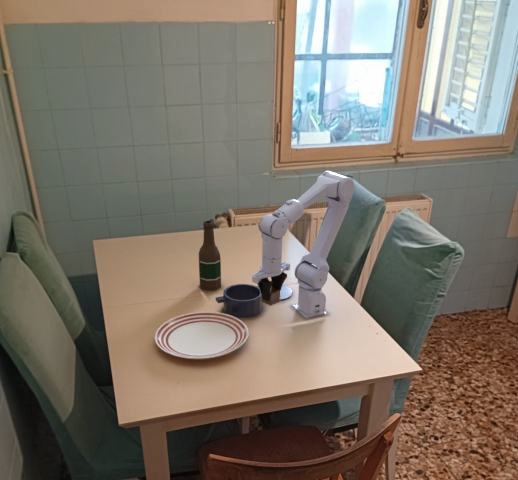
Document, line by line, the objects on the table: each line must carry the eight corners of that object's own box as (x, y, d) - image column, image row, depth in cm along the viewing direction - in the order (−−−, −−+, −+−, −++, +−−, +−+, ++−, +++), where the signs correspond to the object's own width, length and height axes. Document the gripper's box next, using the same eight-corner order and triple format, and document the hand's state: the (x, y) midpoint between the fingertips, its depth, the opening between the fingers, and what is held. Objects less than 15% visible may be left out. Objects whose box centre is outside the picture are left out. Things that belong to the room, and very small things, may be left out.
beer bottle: (218, 293, 196) (216, 226, 183) (196, 291, 197) (193, 224, 185) (224, 284, 202) (222, 219, 190) (203, 282, 204) (200, 217, 191)
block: (279, 301, 174) (280, 289, 172) (270, 305, 172) (271, 293, 170) (270, 297, 177) (270, 285, 175) (261, 301, 174) (261, 289, 172)
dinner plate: (143, 362, 158) (141, 352, 156) (169, 316, 181) (169, 307, 179) (240, 371, 155) (240, 361, 153) (254, 323, 178) (254, 314, 176)
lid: (299, 299, 193) (299, 286, 191) (262, 306, 188) (263, 293, 186) (281, 283, 204) (281, 271, 201) (246, 289, 199) (246, 277, 196)
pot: (276, 313, 184) (276, 295, 181) (224, 323, 178) (223, 305, 174) (260, 297, 194) (260, 280, 190) (210, 306, 187) (209, 289, 184)
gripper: (278, 245, 173) (277, 286, 180) (244, 258, 164) (244, 300, 172) (296, 252, 169) (293, 293, 176) (262, 265, 160) (261, 308, 167)
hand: (270, 297), depth 174 cm, fingers closed on block, 4 cm apart
